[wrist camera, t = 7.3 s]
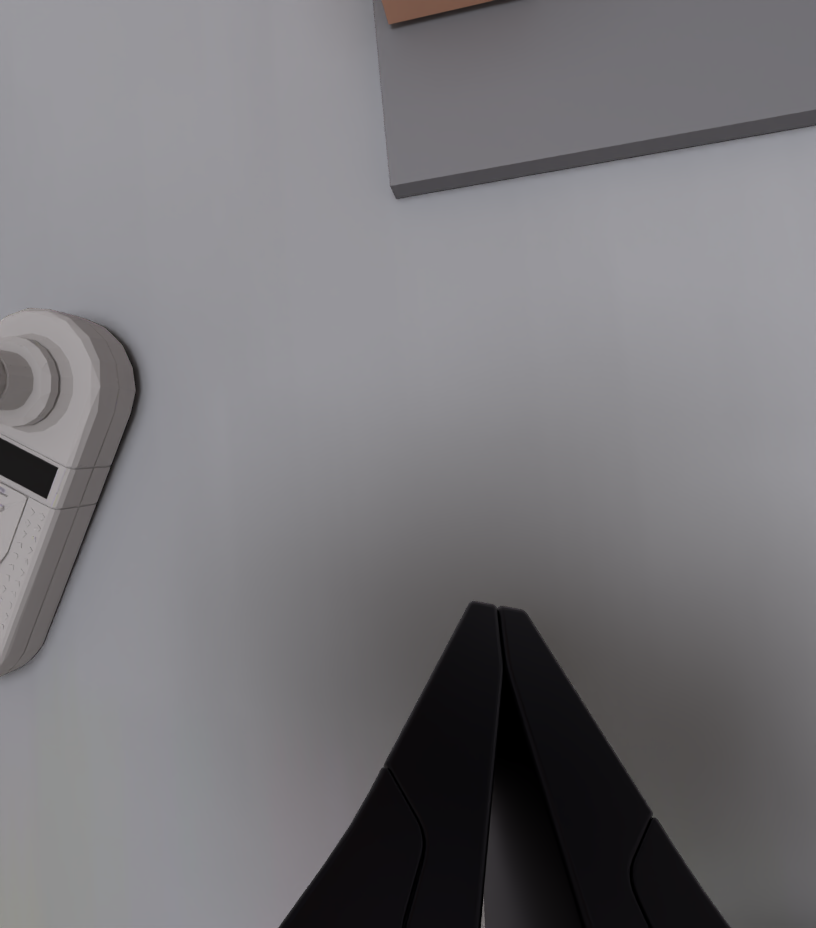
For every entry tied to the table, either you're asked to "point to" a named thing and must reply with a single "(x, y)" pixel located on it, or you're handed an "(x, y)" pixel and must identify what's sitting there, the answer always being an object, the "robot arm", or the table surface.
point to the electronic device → (51, 460)
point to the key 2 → (422, 8)
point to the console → (585, 83)
